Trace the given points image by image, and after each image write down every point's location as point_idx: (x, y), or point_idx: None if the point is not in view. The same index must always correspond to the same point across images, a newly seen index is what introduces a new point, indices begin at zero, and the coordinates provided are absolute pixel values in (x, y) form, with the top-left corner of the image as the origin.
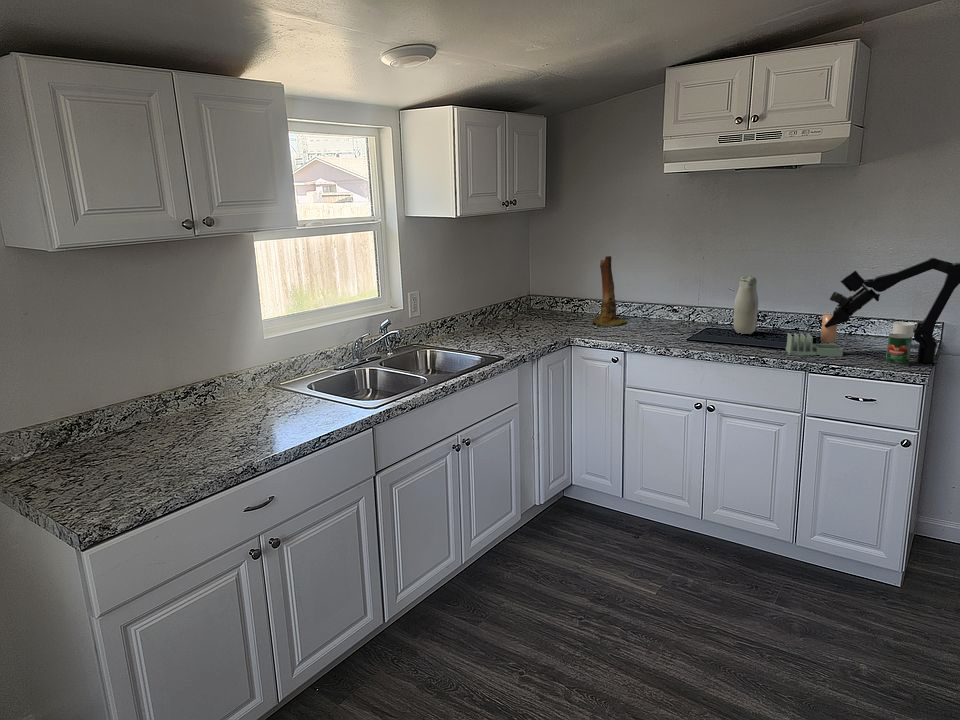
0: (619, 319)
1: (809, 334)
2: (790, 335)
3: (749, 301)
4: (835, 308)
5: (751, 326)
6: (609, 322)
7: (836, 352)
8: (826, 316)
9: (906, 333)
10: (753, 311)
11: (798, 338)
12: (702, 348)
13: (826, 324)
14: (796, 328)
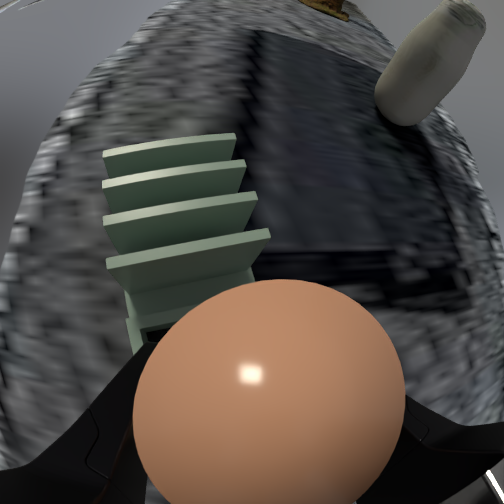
0: (342, 14)
1: (228, 244)
2: (154, 143)
3: (424, 41)
4: (496, 453)
5: (395, 103)
6: (313, 3)
7: None
8: (151, 357)
9: None
10: (422, 75)
11: (103, 187)
12: (173, 38)
13: (130, 364)
14: (496, 236)
